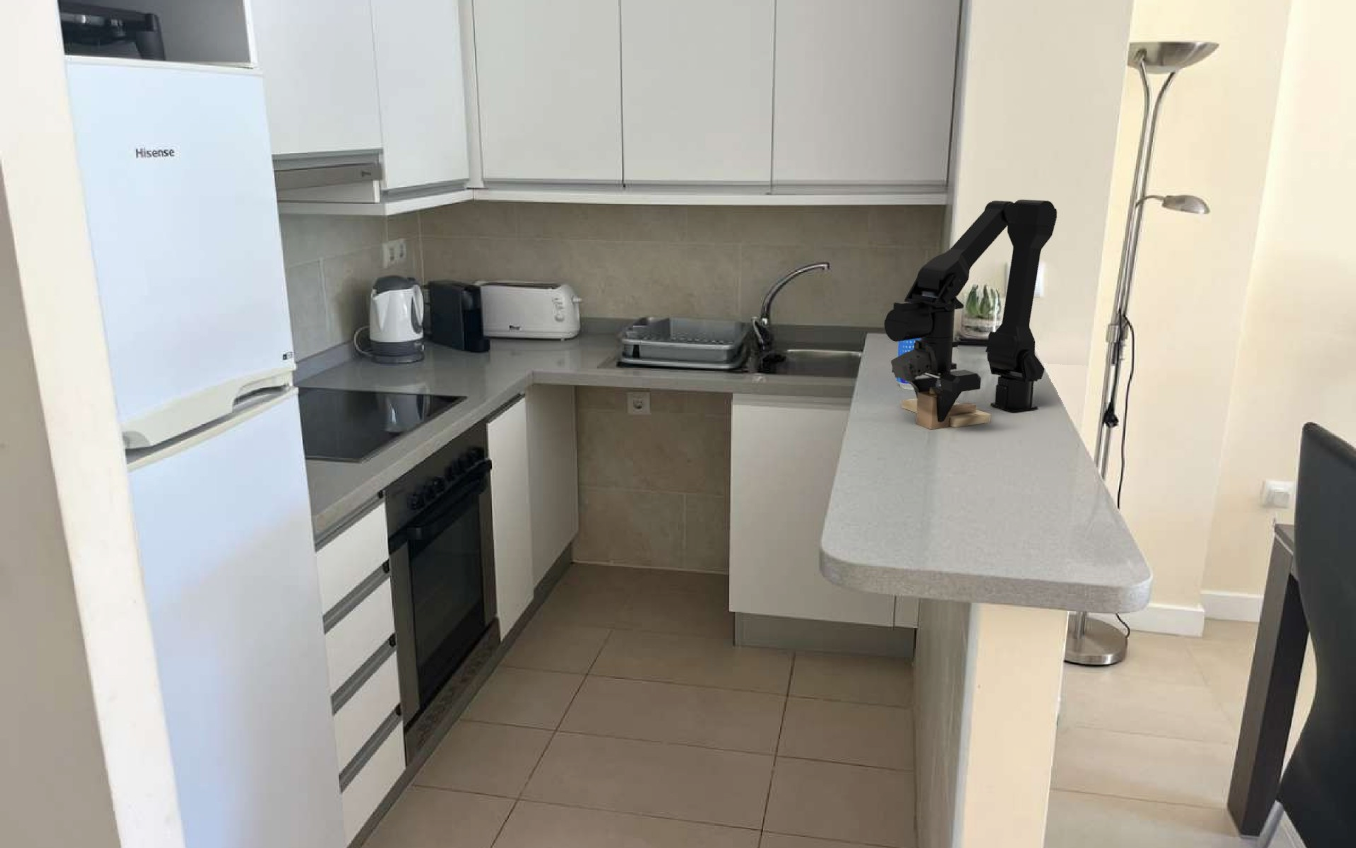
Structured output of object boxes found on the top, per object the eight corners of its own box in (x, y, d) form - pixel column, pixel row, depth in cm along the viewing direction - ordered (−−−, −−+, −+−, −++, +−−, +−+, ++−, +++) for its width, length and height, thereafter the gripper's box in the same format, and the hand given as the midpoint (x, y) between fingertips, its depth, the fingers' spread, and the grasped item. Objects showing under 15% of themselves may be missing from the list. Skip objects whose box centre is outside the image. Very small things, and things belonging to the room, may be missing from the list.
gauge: (963, 416, 190) (965, 380, 188) (979, 421, 186) (981, 385, 184) (916, 423, 185) (917, 387, 184) (931, 429, 182) (933, 392, 180)
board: (935, 402, 200) (936, 395, 199) (989, 422, 186) (990, 414, 185) (902, 407, 197) (902, 400, 196) (954, 427, 183) (955, 419, 182)
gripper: (869, 330, 185) (866, 412, 189) (932, 348, 168) (928, 437, 173) (919, 325, 189) (915, 405, 193) (985, 342, 173) (979, 429, 177)
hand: (932, 418), depth 184 cm, fingers closed on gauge, 4 cm apart
